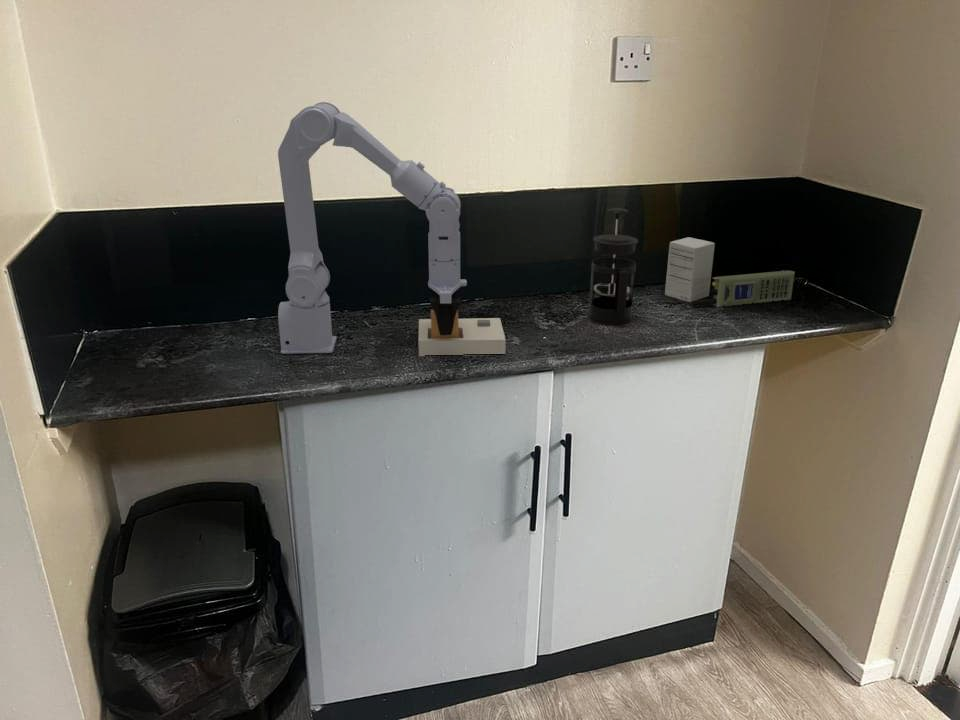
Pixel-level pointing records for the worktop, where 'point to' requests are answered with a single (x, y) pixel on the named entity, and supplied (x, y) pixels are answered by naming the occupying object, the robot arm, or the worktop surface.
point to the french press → (612, 295)
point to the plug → (435, 329)
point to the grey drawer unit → (689, 269)
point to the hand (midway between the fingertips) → (445, 328)
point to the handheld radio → (750, 289)
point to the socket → (464, 338)
